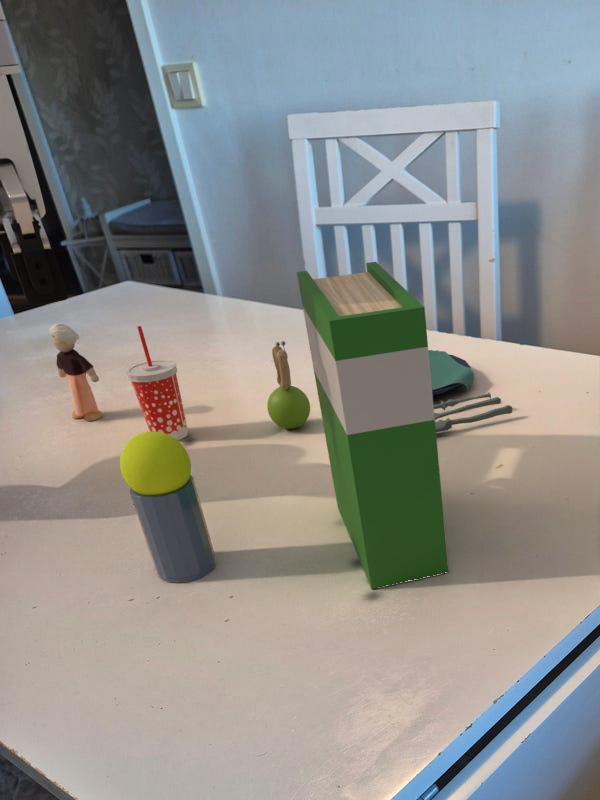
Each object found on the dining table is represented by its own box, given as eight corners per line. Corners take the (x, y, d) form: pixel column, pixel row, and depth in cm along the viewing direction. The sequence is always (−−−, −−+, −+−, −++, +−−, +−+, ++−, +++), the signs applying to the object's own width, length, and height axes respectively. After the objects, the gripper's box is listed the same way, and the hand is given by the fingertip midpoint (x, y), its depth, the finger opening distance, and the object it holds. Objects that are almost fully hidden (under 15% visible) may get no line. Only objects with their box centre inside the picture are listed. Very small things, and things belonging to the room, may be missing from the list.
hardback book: (337, 507, 91) (296, 272, 76) (404, 495, 92) (375, 261, 78) (371, 589, 77) (329, 321, 63) (448, 572, 79) (424, 307, 64)
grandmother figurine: (59, 420, 117) (24, 327, 109) (77, 410, 120) (45, 318, 112) (104, 424, 115) (72, 329, 107) (121, 413, 118) (92, 321, 110)
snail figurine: (277, 441, 107) (257, 345, 99) (268, 424, 111) (248, 332, 104) (319, 432, 108) (302, 338, 101) (308, 416, 113) (291, 325, 106)
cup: (154, 586, 80) (125, 501, 74) (160, 557, 84) (134, 475, 79) (214, 578, 80) (190, 492, 75) (217, 549, 85) (195, 467, 79)
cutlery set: (440, 355, 131) (439, 340, 130) (528, 416, 109) (528, 399, 107) (317, 379, 125) (314, 364, 123) (383, 450, 102) (381, 432, 101)
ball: (128, 515, 75) (105, 452, 71) (136, 487, 80) (115, 427, 76) (196, 504, 75) (177, 441, 72) (200, 477, 80) (182, 416, 77)
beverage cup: (164, 425, 113) (133, 318, 105) (203, 428, 112) (175, 320, 103) (136, 443, 109) (102, 333, 100) (177, 446, 107) (144, 335, 99)
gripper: (-98, 55, 68) (-16, 278, 78) (-91, 57, 56) (5, 320, 66) (2, 50, 71) (68, 265, 81) (29, 50, 59) (103, 303, 69)
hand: (40, 290), depth 74 cm, fingers open, 9 cm apart
